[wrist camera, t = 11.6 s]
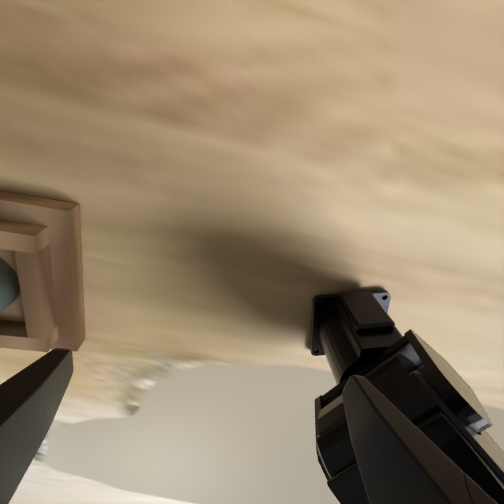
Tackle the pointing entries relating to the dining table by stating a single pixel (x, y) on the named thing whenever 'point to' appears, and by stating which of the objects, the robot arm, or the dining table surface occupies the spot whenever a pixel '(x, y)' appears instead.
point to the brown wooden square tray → (42, 273)
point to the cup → (7, 286)
